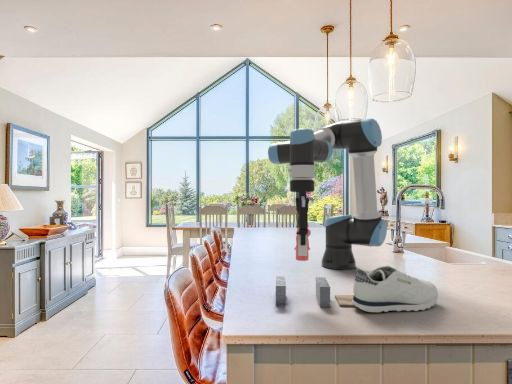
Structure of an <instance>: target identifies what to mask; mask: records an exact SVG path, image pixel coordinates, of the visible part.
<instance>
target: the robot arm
mask: <svg viewBox="0 0 512 384" xmlns="http://www.w3.org/2000/svg"><path fill="white" fill-rule="evenodd" d="M382 141H383V135H382V130H381V127H380V125H379V122H377V120H376V119H374V118H359V119H351V120H345V121H338V122H334V123H331V124H329V125H325V126H323V127H320V128H318V129H317V130H316V131H314V130H313V129H311V128H295V129H293V130H291V131H290V133H289V140H287V141H283V142H276V143H275V142H274V143H271V144H270V145H269V146H268V149H267V156H268V160H269V161H270V163H272V164H276V165H277V164H278V165H282V164H283V165H284V164H289V166H290V168H288V169H287V171H288V172H289V173H290V174H289V178H291V180H290V181H289V191H290V192H291V193H297V197H295V204H296V206H295V211H296V216H297V217H296V219H297V220H296V221H297V222H296V223H297V225H296V230H297V229H298V227H299V232H297V231H296V234H295V235H297V234H298V256H307V233H308V229H309V221H308V220H309V219H308V217H309V216H308V215H309V214H308V213H309V203H310V198H309V197H307V193H314V192H315V180H314V178H315V163H318V164H320V163H321V164H322V163H327V162H329V160H331V158H332V157H333V154H334V150H346V149H347V150H348V154H349V155H350V156H351V157H352V167H353V181H354V182H353V183H354V194H355V205H356V206H355V208H356V211H355V213H354V214H353V215H352V214H343V215H334V216H328V217H327V218H326V220H325V250H324V253H323V255H322V258H321V266H322V267H323V268H325V269H326V268H327V269H332V270H352V269H355V268H356V266H357V265H356V264H357V262H356V258H355V255H354V252H353V247H352V246H353V245H354V246H365V247H370V248H371V247H377V248H378V247H381V246H382V245H383V244H384V243H385V241H386V237H387V233H388V223H387V220H386V219H382V213H380V211H378V200H377V184H376V183H377V182H376V181H377V180H376V170H375V169H376V166H375V154H376V153H377V152H378V148H379V147H380V146H381V145H382ZM298 214H299V217H298Z"/></svg>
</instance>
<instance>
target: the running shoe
mask: <svg viewBox="0 0 512 384" xmlns="http://www.w3.org/2000/svg"><path fill="white" fill-rule="evenodd" d="M352 289H353V295H354V297H353V300H352V303H353V304H355V306H356V307H355V308H358V309H360V310H362V311H363V312H364V311H365V312H368V313H382V312H384V313H387V312H389V311H390V312H391V311H396V312H401V311H406V312H411V311H414V312H418V311H420V310H421V311H425V310H426V309H429V310H430V309H431V307H434V306H435V304H436V303H437V300H438V288H437V287H436V285H435V284H434V283H432V282H431V281H426V280H422V279H418V278H416V277H412V275H409V274H407V273H405V272H402V271H400V270H398V269H396V268H394V267H392V266H391V265H383V266H379V267H376V268H375V269H374V268H373V270H371V271H370V272H368V271H366V270H365V269H362V268H361V267H359V268H358V270H357V272H356V274H355V278H354V281H353V288H352Z"/></svg>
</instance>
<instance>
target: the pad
mask: <svg viewBox="0 0 512 384" xmlns="http://www.w3.org/2000/svg"><path fill="white" fill-rule="evenodd" d="M353 297H354V294H353V295H351V294H348V295H347V294H343V295H342V294H334V298H335V300H336V302H337V303H338V306H339V307H341V308H342V307H344V308H357V307H356V306H355V304H353V303H352V300H353Z"/></svg>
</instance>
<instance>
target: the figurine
mask: <svg viewBox="0 0 512 384" xmlns="http://www.w3.org/2000/svg"><path fill="white" fill-rule="evenodd" d="M298 217H299V214H298ZM296 232H299V227H298V229H297V228H296ZM295 235H296V236H295V241H296V245H295V247H294V250H295V260H296V261H298V262H299V261H301V262H302V261H303V262H305V261H309V251H311V248H310V244H309V243H310V240H309V237H310V236H311V230H310V229H309V228H308V233H307V256H298V234H295Z"/></svg>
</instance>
